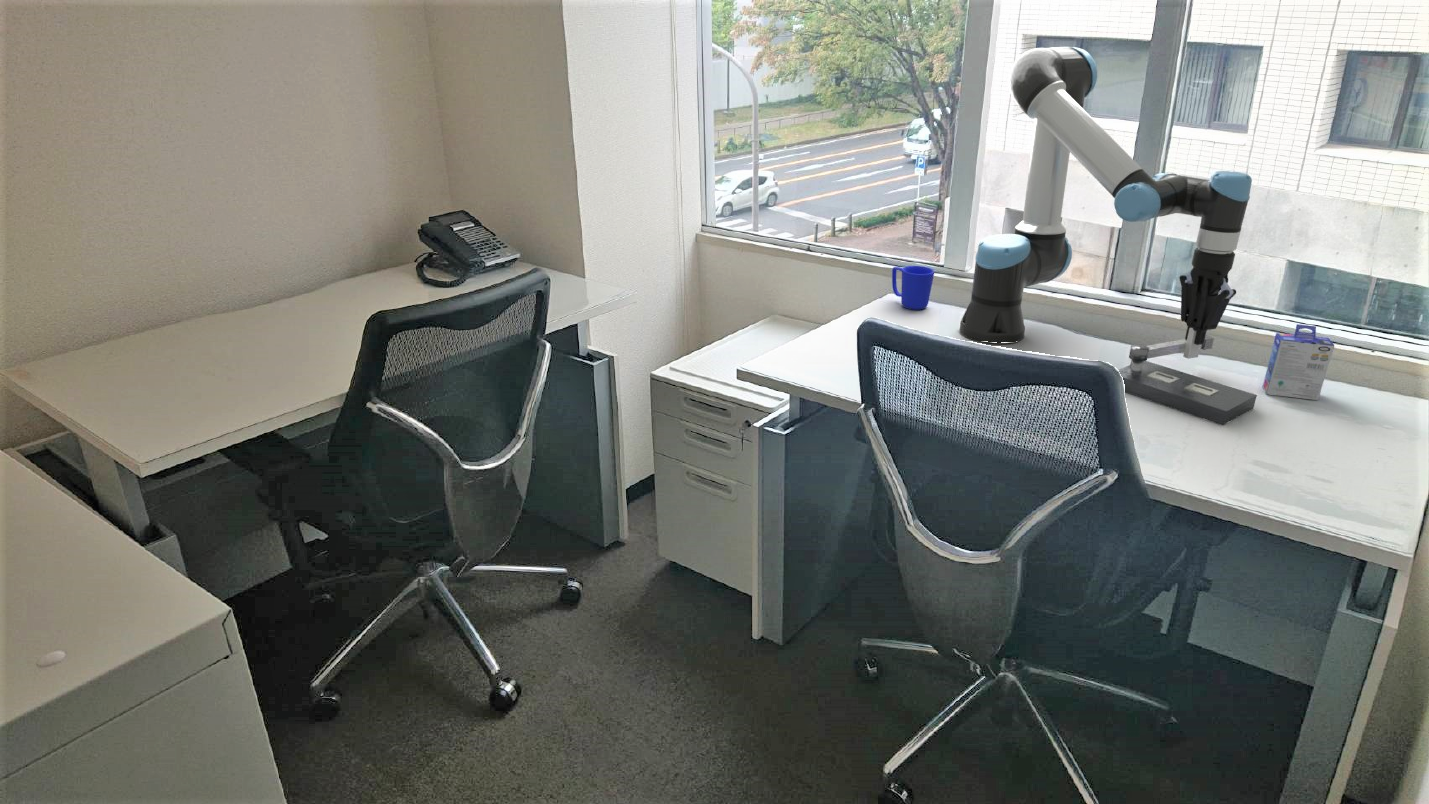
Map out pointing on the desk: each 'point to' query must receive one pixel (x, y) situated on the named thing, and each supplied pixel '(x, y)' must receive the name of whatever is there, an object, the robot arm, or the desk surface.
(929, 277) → the mug
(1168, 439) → the desk surface
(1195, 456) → the desk surface
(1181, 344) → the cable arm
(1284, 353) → the ink cartridge box
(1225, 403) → the slab
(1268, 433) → the desk surface
